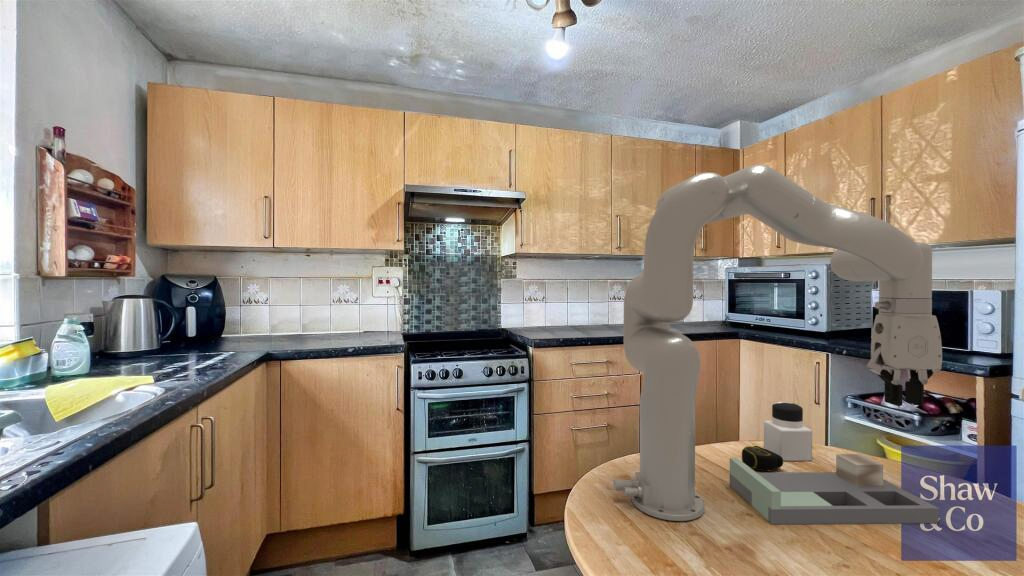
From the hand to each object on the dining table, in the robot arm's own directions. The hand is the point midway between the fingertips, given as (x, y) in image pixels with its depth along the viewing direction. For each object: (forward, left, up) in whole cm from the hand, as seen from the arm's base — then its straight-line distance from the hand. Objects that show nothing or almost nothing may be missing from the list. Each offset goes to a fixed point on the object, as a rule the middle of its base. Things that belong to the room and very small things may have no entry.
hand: (903, 403), depth 83 cm
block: (-8, 0, -15) cm, 17 cm away
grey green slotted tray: (-18, -3, -17) cm, 25 cm away
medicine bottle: (-10, +19, -17) cm, 27 cm away
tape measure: (-20, +13, -18) cm, 30 cm away
